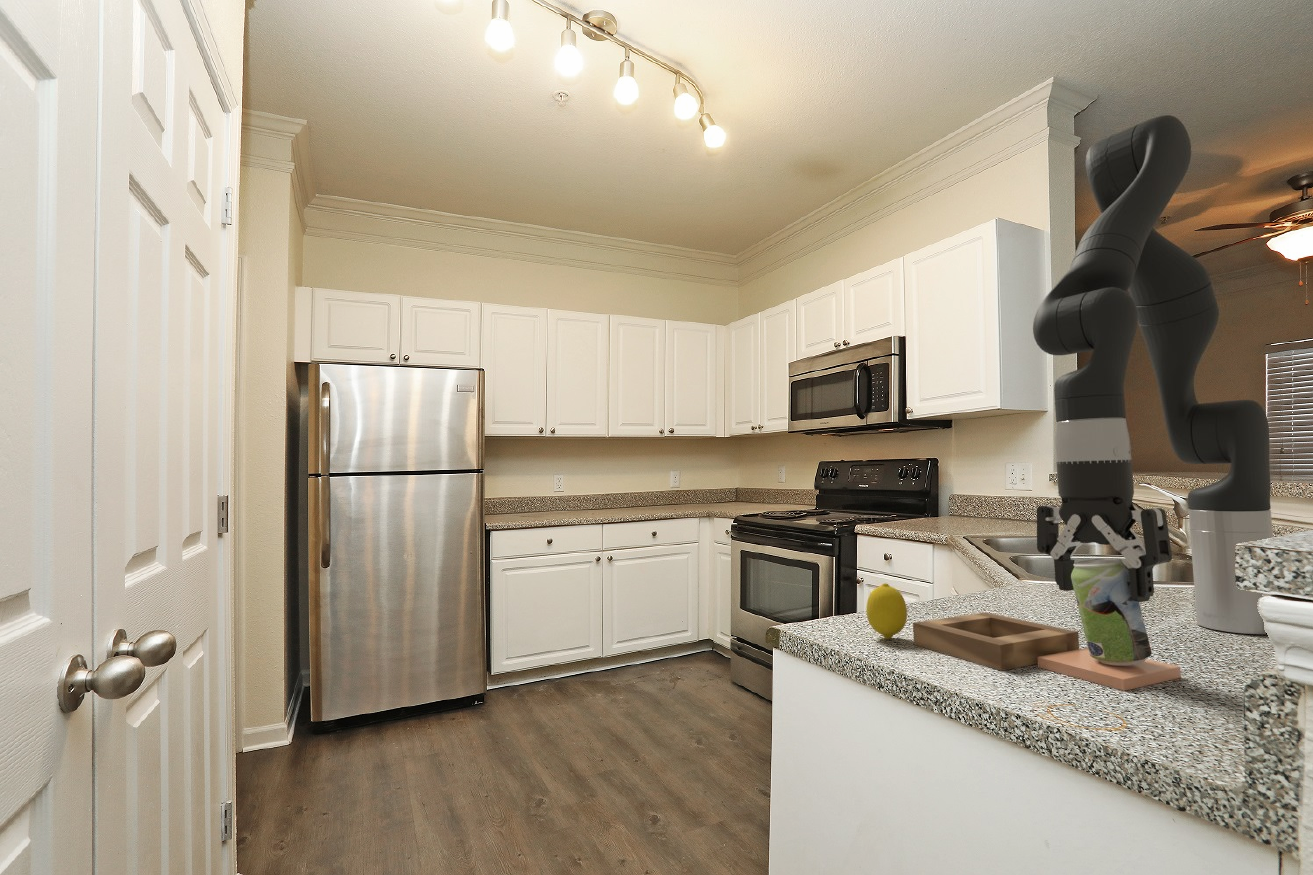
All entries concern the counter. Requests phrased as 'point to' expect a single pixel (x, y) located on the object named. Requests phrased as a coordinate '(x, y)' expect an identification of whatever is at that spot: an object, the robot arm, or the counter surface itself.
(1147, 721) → the counter surface
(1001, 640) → the board
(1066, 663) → the plate
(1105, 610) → the beverage can
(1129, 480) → the robot arm
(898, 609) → the lemon
